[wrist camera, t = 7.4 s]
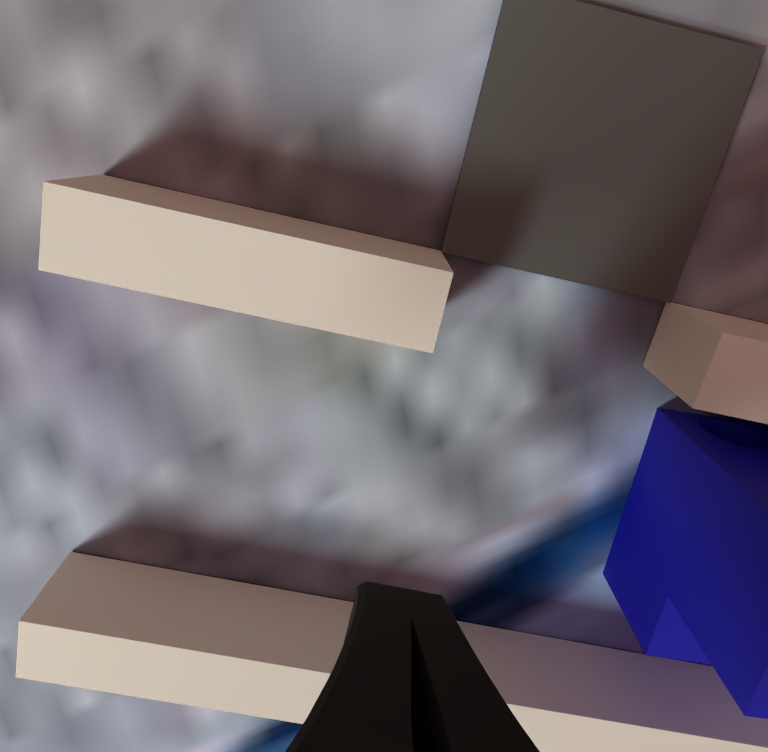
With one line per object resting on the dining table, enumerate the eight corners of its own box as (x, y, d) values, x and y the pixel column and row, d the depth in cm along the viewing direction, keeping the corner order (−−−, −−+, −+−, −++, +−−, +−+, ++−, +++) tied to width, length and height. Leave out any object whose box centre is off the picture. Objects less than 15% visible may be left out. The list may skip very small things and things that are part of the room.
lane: (1041, 770, 19) (1157, 880, 16) (66, 602, 17) (3, 694, 14) (1280, 439, 16) (1478, 504, 13) (101, 174, 13) (29, 183, 11)
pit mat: (666, 301, 14) (670, 303, 14) (441, 250, 14) (441, 252, 14) (758, 50, 13) (764, 49, 13) (506, -15, 12) (509, -18, 12)
